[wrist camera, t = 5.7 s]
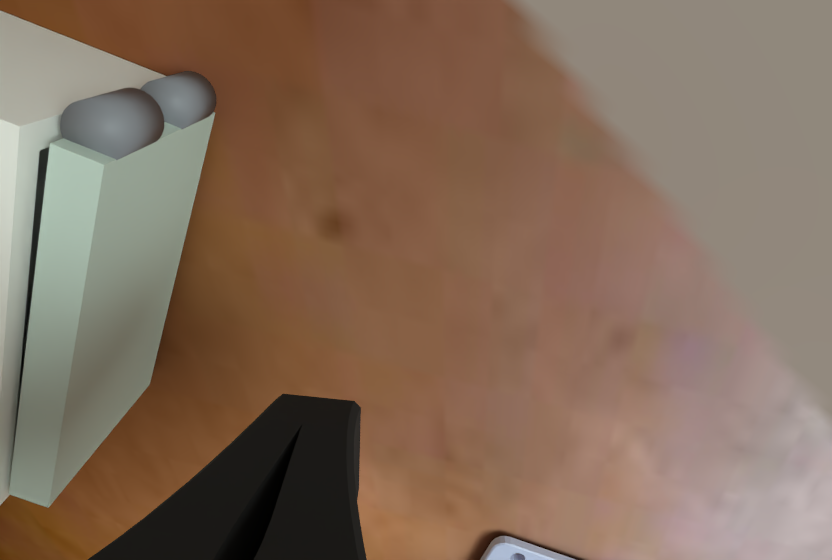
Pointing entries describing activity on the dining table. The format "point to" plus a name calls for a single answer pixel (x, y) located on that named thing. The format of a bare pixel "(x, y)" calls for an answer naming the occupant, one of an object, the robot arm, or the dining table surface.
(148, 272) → the cabinet door
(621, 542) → the dining table surface
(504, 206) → the dining table surface
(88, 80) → the cabinet
